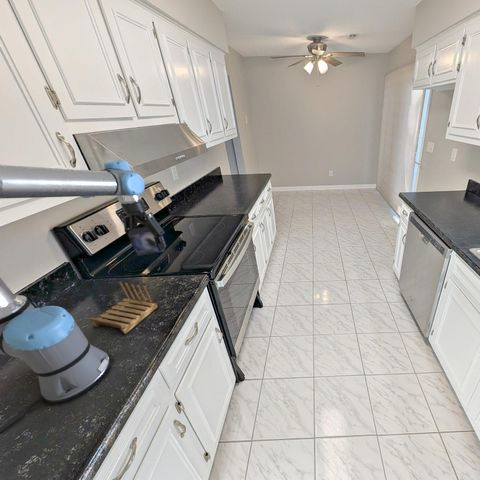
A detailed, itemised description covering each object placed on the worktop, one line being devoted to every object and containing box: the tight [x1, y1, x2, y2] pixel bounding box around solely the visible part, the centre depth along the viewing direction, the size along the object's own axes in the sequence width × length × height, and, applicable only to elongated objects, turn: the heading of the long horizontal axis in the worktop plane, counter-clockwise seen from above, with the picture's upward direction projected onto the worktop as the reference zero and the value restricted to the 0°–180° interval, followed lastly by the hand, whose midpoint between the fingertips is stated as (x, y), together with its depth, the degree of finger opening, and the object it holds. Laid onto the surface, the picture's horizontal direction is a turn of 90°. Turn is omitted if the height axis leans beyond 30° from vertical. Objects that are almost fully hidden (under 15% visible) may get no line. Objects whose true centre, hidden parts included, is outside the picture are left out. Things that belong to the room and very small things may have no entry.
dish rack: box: [89, 281, 158, 335], centre depth 94 cm, size 14×15×11 cm
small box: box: [127, 226, 167, 257], centre depth 109 cm, size 11×6×10 cm, turn 105°
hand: (151, 248), depth 111 cm, fingers closed on small box, 12 cm apart
